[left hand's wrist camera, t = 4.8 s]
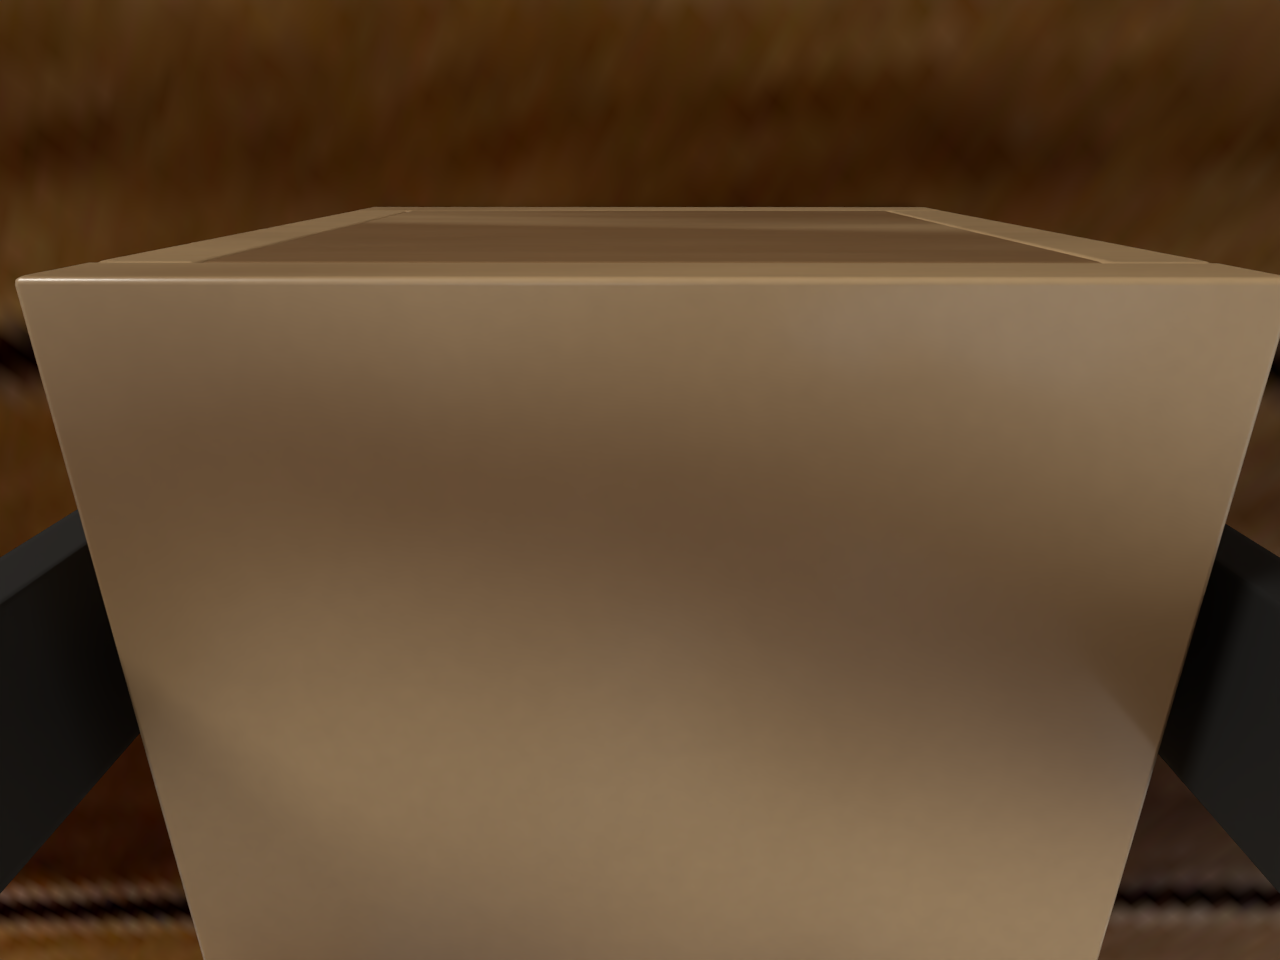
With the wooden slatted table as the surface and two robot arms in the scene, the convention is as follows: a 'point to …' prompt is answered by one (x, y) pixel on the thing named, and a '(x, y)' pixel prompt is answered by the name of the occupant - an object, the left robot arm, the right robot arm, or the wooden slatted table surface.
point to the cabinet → (652, 570)
